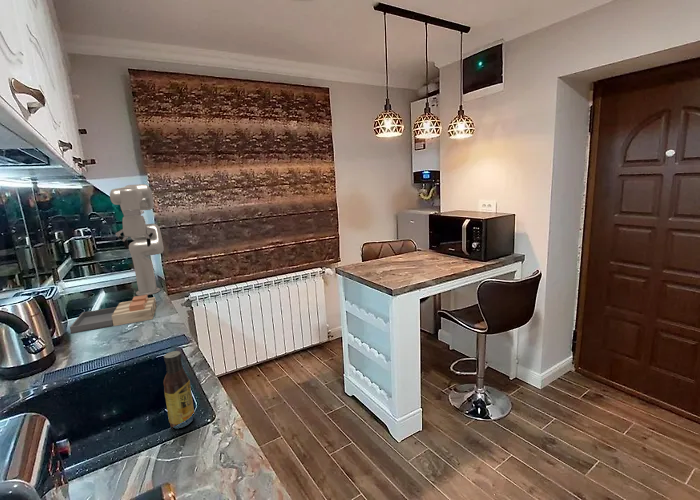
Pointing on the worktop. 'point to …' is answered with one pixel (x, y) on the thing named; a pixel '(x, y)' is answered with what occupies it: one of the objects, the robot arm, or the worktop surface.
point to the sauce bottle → (177, 390)
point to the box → (93, 320)
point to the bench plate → (133, 313)
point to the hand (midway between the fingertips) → (138, 247)
